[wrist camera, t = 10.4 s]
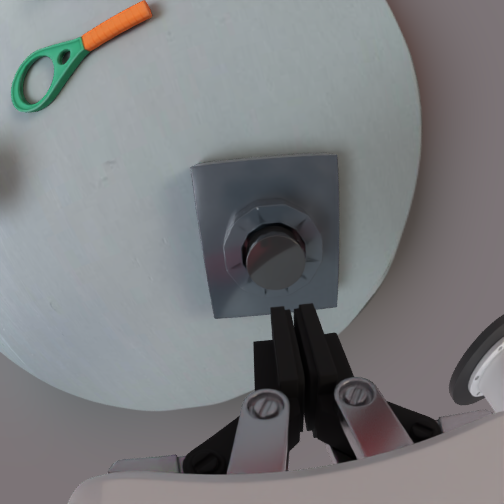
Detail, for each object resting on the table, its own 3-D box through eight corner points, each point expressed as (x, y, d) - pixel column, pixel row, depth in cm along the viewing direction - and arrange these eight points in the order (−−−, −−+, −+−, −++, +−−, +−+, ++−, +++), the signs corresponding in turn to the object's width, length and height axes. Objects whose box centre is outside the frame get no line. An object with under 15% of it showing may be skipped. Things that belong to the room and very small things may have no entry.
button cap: (299, 223, 19) (304, 232, 17) (301, 273, 21) (306, 287, 19) (243, 228, 19) (243, 238, 17) (248, 278, 21) (249, 292, 19)
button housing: (326, 152, 22) (346, 156, 17) (328, 289, 26) (343, 320, 22) (197, 163, 22) (184, 170, 17) (217, 300, 26) (211, 333, 22)
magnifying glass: (25, 125, 20) (14, 125, 18) (14, 76, 18) (3, 75, 16) (161, 38, 18) (155, 32, 16) (143, -11, 16) (137, -19, 14)
